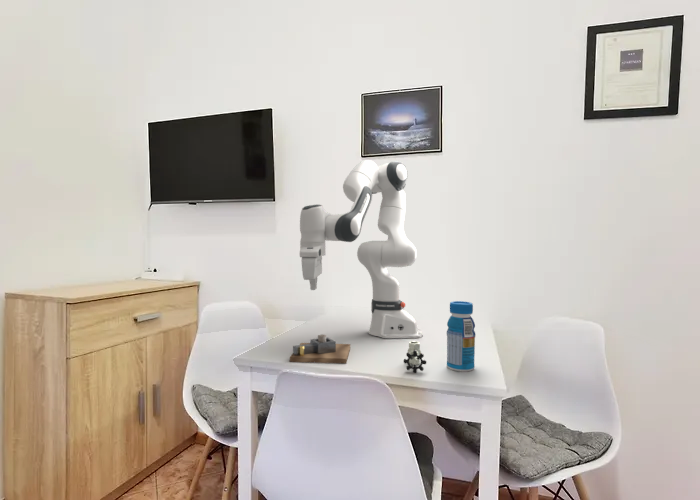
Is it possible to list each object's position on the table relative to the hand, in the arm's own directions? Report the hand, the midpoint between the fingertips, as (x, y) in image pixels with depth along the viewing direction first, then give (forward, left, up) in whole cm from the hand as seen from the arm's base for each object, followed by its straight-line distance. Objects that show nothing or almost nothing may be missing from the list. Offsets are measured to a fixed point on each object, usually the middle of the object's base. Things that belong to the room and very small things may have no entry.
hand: (313, 289), depth 139 cm
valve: (-34, +16, -22) cm, 44 cm away
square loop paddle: (-2, +9, -20) cm, 22 cm away
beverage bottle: (-48, +17, -21) cm, 55 cm away
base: (-4, +7, -21) cm, 23 cm away
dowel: (+1, +14, -21) cm, 25 cm away
